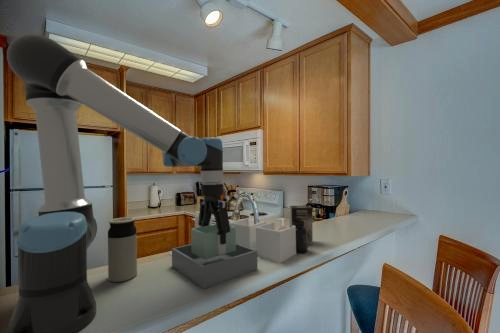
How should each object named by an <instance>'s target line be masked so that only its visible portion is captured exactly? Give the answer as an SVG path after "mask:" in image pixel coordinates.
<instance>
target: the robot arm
mask: <svg viewBox="0 0 500 333" xmlns="http://www.w3.org/2000/svg"><path fill="white" fill-rule="evenodd" d="M6 60H7V61H6V62H8V63H7V64H8V66H9V68H10V69H11V71H12V73H14V75H15V76H16V77H18V79H19V80H20V81H22V82H23V85H24V86H23V87H24V92H25V94H24V95H25V102H26V105H28V106H29V107H30V108H31V109H33V110H34V114H35V120H36V130H37V131H36V132H37V140H38V148H39V160H40V168H41V176H42V185H43V195H44V203H43V205H41V207H40V208H38V210H37V211H38V212H37V214H38V216H34V217H31V218H28V219H26V220H25V221H24V222H22V223H21V224H20V226H19V228H18V233H17V234H18V235H17V239H16V244H17V254H18V256H17V257H18V258H17V261H18V264H17V265H18V274H17V275H18V298H17V301H16V304H15V306H14V309H13V312H12V313H11V314H12V315H11V317H10V320H9V322H8V325H7V328H6V333H77V332H79V331H81V330H82V329H83V328H85V327H86V326H87V325H89V324H90V323H91V322H92V321H93V320H94V319H95V317H96V315H97V301H96V298H95V296H94V294H93V291H92V289H91V286H90V284H89V282H88V274H87V272H88V270H87V269H88V263H87V261H88V257H87V256H88V254H87V252H88V251H87V250H88V249H89V247H90V246H91V244H92V243H93V242H94V240H95V239H96V236H97V232H98V224H97V223H98V222H97V221H96V219H95V217H94V210H93V202H92V201H90V200H89V199H88V198H86V196H85V187H84V179H83V178H84V177H83V168H82V158H81V157H82V156H81V148H80V138H79V130H78V121H77V120H78V118H77V111H78V110H79V109H81V108H82V105H84V106H85V107H87V108H88V109H90V110H92V111H94V112H95V113H97V114H99V115H101V116H102V117H104V118H106V119H107V120H109V121H111V122H113V123H115V124H116V125H118V126H119V127H121V128H123V129H124V130H126V131H127V132H129V133H131V134H133V135H134V136H136V137H137V138H139V139H141V140H142V141H144V142H146V143H147V144H149V145H151V146H153V147H154V148H155V149H157V150H159V151H161V152H162V154H161V155H162V156H161V158H162V163H163V166H165V167H168V168H169V167H170V168H177V167H178V168H179V167H180V168H182V167H183V168H185V167H200V183H201V185H200V191H201V192H200V194H201V196H203V197H204V198H203V197H202V198H200V199H199V213H198V214H199V223H198V224H199V226H200V225H201V227H203V226H208V225H209V223H210V219H211V215H212V216H214V220H215V224H216V225H217V228H218V232H219V233H217V249H218V255H220V254H224V253H226V233H228V232H230V226H229V225H230V220H229V214H228V213H229V212H228V201H227V200H226V201H223V200H222V198H221V197H222V196H223V195H224V191H225V190H224V184H223V182H224V171H223V170H224V167H223V166H224V154H223V153H224V150H223V141H222V139H221V138H218V137H215V136H214V137H213V136H212V137H202V138H199V137H197V136H192V135H189V134H188V133H187V132H184V131H183V130H181V129H180V128H179V127H177V126H175V125H174V124H172V123H170V121H168V120H166V119H165V118H163V117H161V115H158V114H157V113H156V112H154V111H153V110H151V109H149V108H148V107H147V106H145V105H144V104H142V103H140V102H139V101H137V100H136V99H134V98H132V97H131V96H129V95H128V94H127V93H125V92H124V91H122V90H121V89H119V88H117V87H116V86H115V85H114V84H111V83H110V82H109V81H107V80H106V79H104V78H102V77H101V76H99V75H97V74H96V73H95V72H93V71H92V70H90V69H89V68H88V66H87V64H86V61H85V60H83V59H81V57H78V56H77V55H75V54H74V53H73V52H72V51H71V50H68V49H67V48H66V47H64V46H63V45H61V44H60V43H58V42H57V41H55V40H53V39H52V38H48V37H47V36H44V35H40V34H24V35H21V36H18V37H17V38H15V39H13V40H12V41H11V42H10V44H9V45H8V47H7V50H6ZM201 221H202V222H201ZM226 228H227V229H226Z"/></svg>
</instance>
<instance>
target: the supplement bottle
mask: <svg viewBox="0 0 500 333" xmlns="http://www.w3.org/2000/svg"><path fill="white" fill-rule="evenodd" d="M292 226H296V254H306V253H307V252H309V251H308V250H309V245H308V241H307V229H306V228H305V227H304V221H303V220H293V221H292Z"/></svg>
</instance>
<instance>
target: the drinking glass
mask: <svg viewBox="0 0 500 333" xmlns="http://www.w3.org/2000/svg"><path fill="white" fill-rule="evenodd" d="M201 222H202V221H201ZM198 223H199V213H197V214H195V216H194V228H197V227H201V225H200V226H199V224H198ZM209 225H213V214H212V215H211V219H210V223H209Z"/></svg>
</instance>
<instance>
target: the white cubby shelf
mask: <svg viewBox="0 0 500 333" xmlns="http://www.w3.org/2000/svg"><path fill="white" fill-rule="evenodd" d="M249 220H250V218H242V219H238V220H235V221H232V222H229V225H230V226H233V227H236V243H237V244H240V245H243V246H245V247H248V248H251V249H254V250H256V251H257V258H258V257H259V258H262V259H266V260H269V261H273V262H277V263H282V262H284V261H286V260H288V259H290V258H292V257H293V256H296V254H297V253H296V226H293V227H290V226H289V227H288V228H285V229H283V230H280V231H279V230H275V227H276V225H275V222H269V223H267V221H265V220H264V221H261V222H259V223H255V224H252V225H250V222H249Z"/></svg>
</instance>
